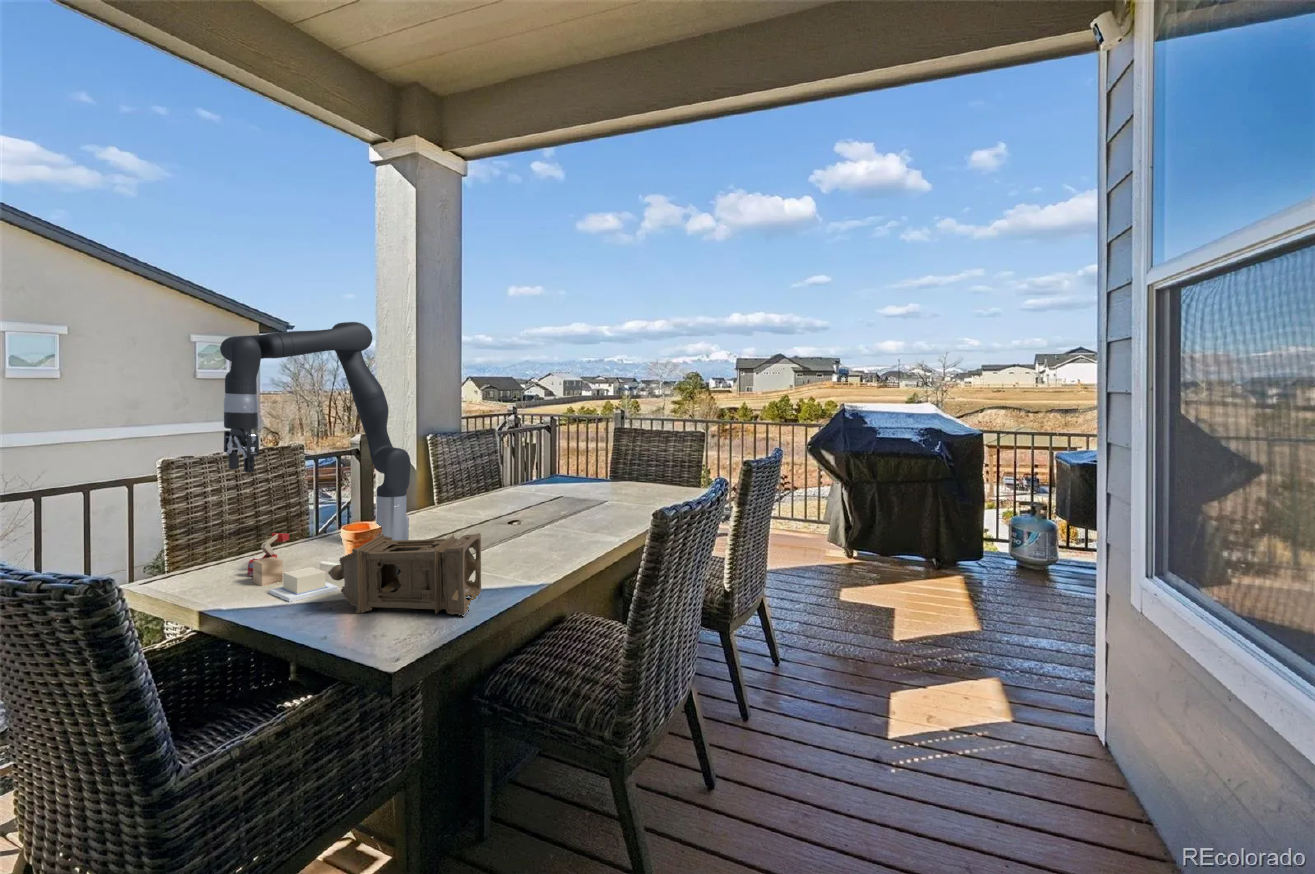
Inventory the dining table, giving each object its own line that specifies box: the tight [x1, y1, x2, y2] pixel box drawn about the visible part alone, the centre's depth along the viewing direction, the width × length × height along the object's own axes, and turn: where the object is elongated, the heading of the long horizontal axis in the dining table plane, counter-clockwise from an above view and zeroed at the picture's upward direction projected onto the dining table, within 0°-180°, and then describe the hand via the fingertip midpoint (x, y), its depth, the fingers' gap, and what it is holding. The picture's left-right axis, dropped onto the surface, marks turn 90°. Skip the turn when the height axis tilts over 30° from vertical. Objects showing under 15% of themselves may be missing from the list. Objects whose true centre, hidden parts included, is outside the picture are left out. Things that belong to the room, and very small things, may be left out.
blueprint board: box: [269, 566, 339, 603], centre depth 155 cm, size 12×10×5 cm
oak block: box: [252, 557, 284, 587], centre depth 161 cm, size 5×5×6 cm
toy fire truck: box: [247, 532, 290, 577], centre depth 171 cm, size 3×14×10 cm, turn 179°
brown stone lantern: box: [327, 532, 482, 616], centre depth 149 cm, size 35×18×18 cm, turn 91°
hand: (241, 470), depth 164 cm, fingers open, 8 cm apart
